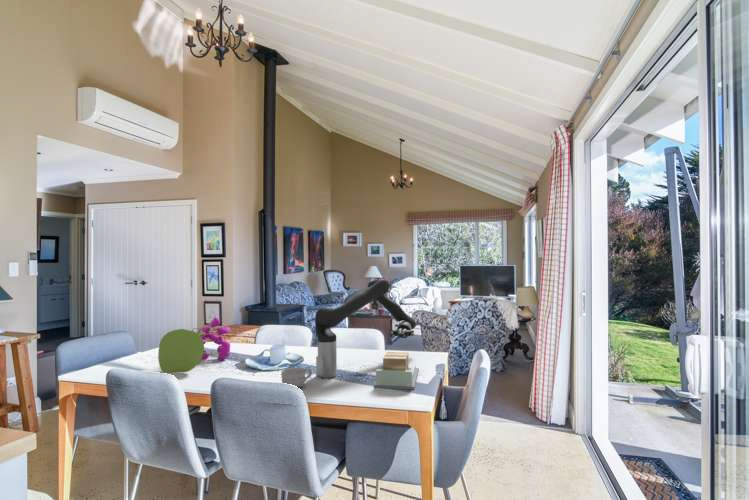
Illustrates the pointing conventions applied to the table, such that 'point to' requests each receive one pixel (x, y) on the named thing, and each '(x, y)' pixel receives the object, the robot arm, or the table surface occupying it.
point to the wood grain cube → (395, 361)
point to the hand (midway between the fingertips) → (400, 335)
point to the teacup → (295, 376)
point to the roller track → (396, 378)
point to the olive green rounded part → (190, 347)
